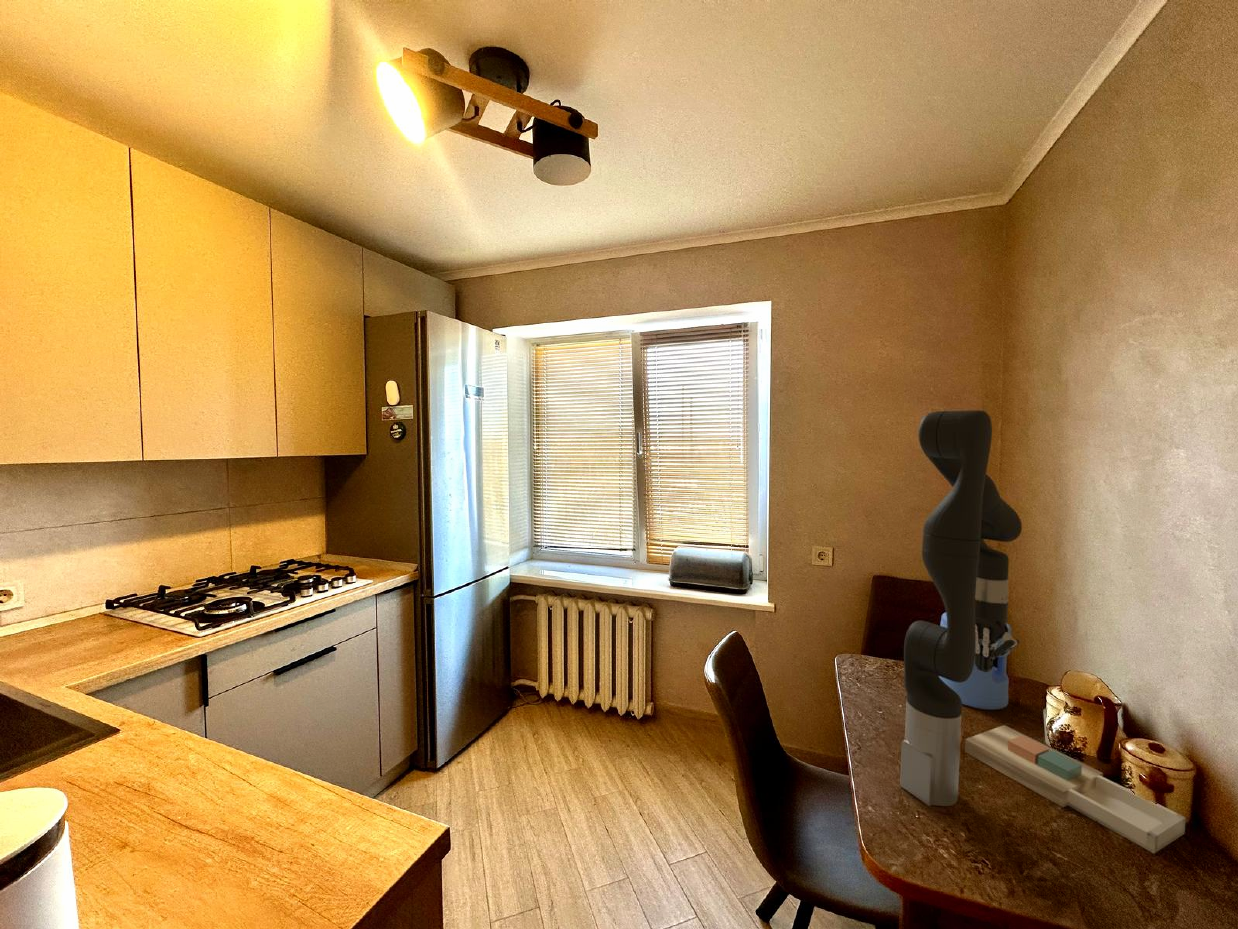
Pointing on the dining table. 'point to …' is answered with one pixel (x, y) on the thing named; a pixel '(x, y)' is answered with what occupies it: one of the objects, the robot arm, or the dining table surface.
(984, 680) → the water jug
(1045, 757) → the teal tile
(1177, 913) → the dining table surface
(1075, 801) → the box
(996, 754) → the birch board
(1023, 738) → the terracotta tile
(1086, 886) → the dining table surface
